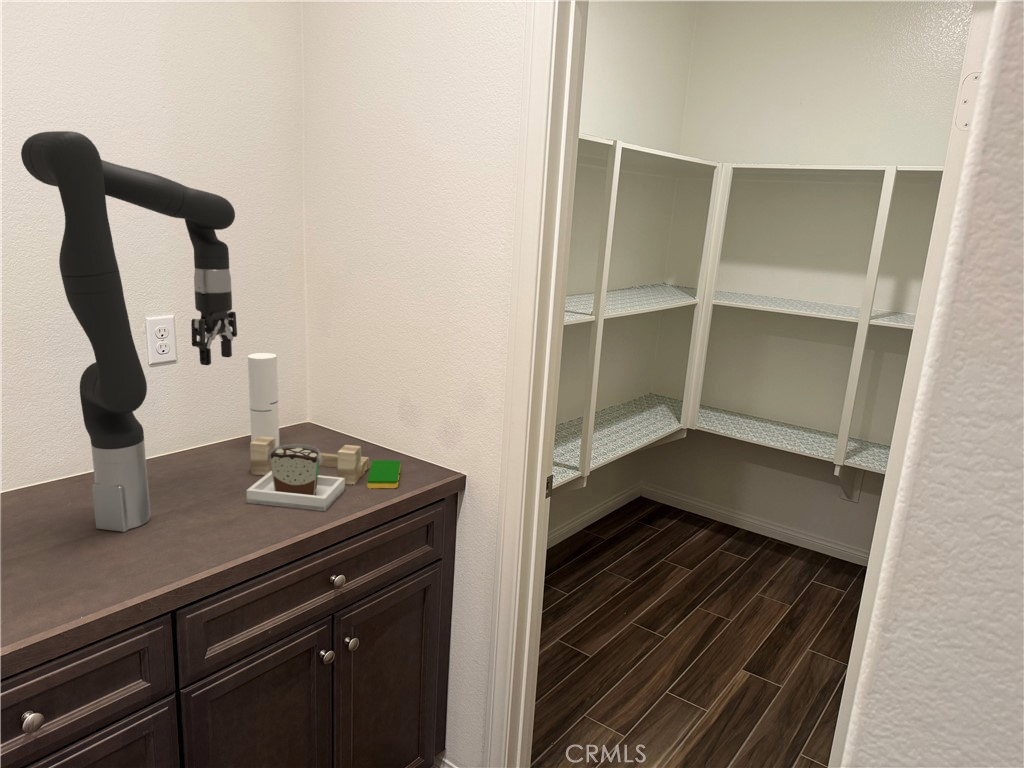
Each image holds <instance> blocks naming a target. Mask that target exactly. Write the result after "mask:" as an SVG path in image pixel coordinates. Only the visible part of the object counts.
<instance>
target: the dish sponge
mask: <svg viewBox="0 0 1024 768" xmlns="http://www.w3.org/2000/svg"><path fill="white" fill-rule="evenodd" d="M401 466H402V465H401V460H391V459H389V460H388V459H387V460H385V459H384V460H379V459H378V460H377V459H376V460H375V459H374V460H372V461H371V465H370V467H369V473H368V477H367V481H366V482H367V485H366V488H367V489H368V488H369V489H370V490H372V489H371V488H374V489H373V490H375V488H396V487H398V486H399V482H398V480H400V475H399V473H400V474H401ZM398 488H399V487H398Z"/></svg>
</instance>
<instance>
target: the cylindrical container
mask: <svg viewBox="0 0 1024 768" xmlns="http://www.w3.org/2000/svg"><path fill="white" fill-rule="evenodd" d="M247 365H248V367H247V368H248V369H247V370H248V371H247V372H248V390H249V394H248V395H249V396H248V397H249V414H250V415H249V417H250V437H251V439H250V440H251V442H252V441H254V440H255V439H257V438H258V437H270V438H275V445H276V447H279V446H280V425H279V424H280V419H279V396H278V395H279V394H278V392H279V389H278V388H279V387H278V384H279V383H278V359H277V354H275V353H271V352H257V353H251V354H249V355H247ZM251 442H250V443H251Z"/></svg>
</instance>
